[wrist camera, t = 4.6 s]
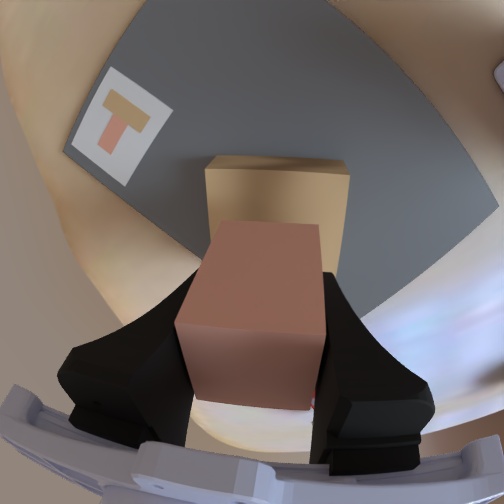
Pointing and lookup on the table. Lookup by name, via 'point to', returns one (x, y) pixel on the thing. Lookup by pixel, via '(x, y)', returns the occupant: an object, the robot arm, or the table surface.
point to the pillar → (256, 316)
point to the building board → (280, 130)
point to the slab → (281, 195)
